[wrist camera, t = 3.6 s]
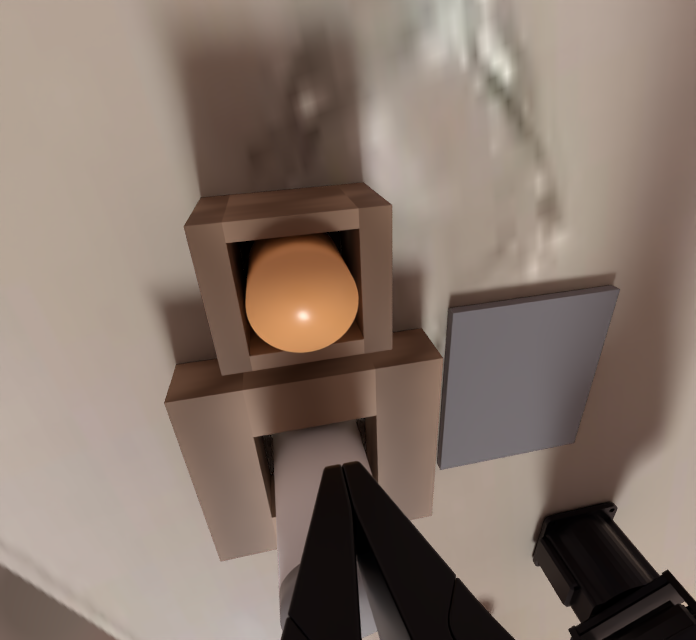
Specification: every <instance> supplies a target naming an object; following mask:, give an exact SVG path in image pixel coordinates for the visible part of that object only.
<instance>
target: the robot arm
mask: <svg viewBox="0 0 696 640" xmlns="http://www.w3.org/2000/svg"><path fill="white" fill-rule="evenodd" d="M616 511H617V506H616V505H615V504H614V503H613V502H609V503H605V504H601V505H596V506H592V507H587V508H583V509H579V510H574V511H570V512H565V513H561V514H557V515H552V516H549V517H547V518H546V519H545V520H544V522H543V526H542V529H541V533H540V536H539V540H538V543H537V547H536V550H535V554H534V557H533V562H534V564H535V565H536V566H540V567H541V568H542V570H543V572H544V573H545V575H546V577H547V578H548V580H549V582H550V583H551V585H552V587H553V588H554V590H555V592H556V593H557V595H558V596H559V598H560V600H561V601H562V603H563V604H564V605H565V606H566V607H569V606H571V608H572V609H573V611H574V613H575V614H576V616H577V617H578V619H579V621H580V622H581V624H579V625H577V626H572V627H571V628H569V629H568V630H569V632H570V634H571V636H572V637H571V639H570V640H696V601H695V600H694V599H693V598H692V596H691V595H690V594H689V593H688V592H687V591H686V590H685V588H684V587H683V586H682V585H681V584H680V583H679V582H678V581H677V579H676V578H675V577H674V576H673V575H672V574H671V573H670V571H669V570H666V571H664V572H663V573H662V575H661V576H660V575H659V574H658V573H657V572H656V571H655V569H654V568H653V567H652V566H651V565H650V563H649V562H648V561H647V560H646V559H645V557H644V556H643V555H642V554H641V553H640V552H639V550H638V549H637V548H636V547H635V546H634V544H633V543H632V542H631V541H630V540H629V539H628V537H627V536H626V535H625V534H624V533H623V531H622V530H621V529H620V528H619V527H618V526H617V524H616V523H615V522H614V521H613V518H614V516H615V513H616ZM356 559H357V560H356ZM357 564H358V567H359V571H360V574H361V578H362V581H363V584H364V588H365V591H366V594H367V598H368V601H369V604H370V608H371V611H372V614H373V618H374V621H375V624H376V628H377V631H378V634H379V638H380V640H515V639H514V638H513V637H512V636H511V635H510V634H509V633H508V632H507V631H506V630H505V629H504V628H503V627H502V626H501V625H500V624H499V623H498V622H497V621H496V620H495V619H494V618H493V617H492V616H491V614H490V613H489V612H488V611H487V610H486V609H485V608H484V607H483V605H482V604H481V603H480V602H479V601H478V600H477V599H476V598H475V597H474V595H473V594H472V593H471V592H470V591H469V590H468V588H467V587H466V586H465V585H464V584H463V583H462V581H461V580H460V579H459V578H456V575H455V573H454V572H453V571H452V570H451V569H450V567H449V566H448V565H447V564H446V563H445V562H444V560H443V559H442V558H441V557H440V556H439V554H438V553H437V552H436V551H435V550H434V549H433V547H432V546H431V545H430V544H429V543H428V541H427V540H426V539H425V538H424V537H423V536H422V534H421V533H420V532H419V531H418V530H417V528H416V527H415V526H414V525H413V524H412V523H411V521H410V520H409V519H408V518H407V517H406V515H405V514H404V513H403V512H402V511H401V510H400V508H399V507H398V506H397V505H396V504H395V502H394V501H393V500H392V499H391V498H390V497H389V495H388V494H387V493H386V492H385V491H384V489H383V488H382V487H381V486H380V485H379V484H378V482H377V481H376V480H375V479H374V478H373V476H372V475H371V474H370V473H369V472H368V471H367V469H366V468H365V467H364V466H363V465H362V464H361V463H360V462H359V461H353V462H347V463H344V464H343V465H342V466H341V465H340V464H336V465H331V466H326V467H325V468H324V470H323V473H322V477H321V481H320V485H319V489H318V493H317V497H316V501H315V505H314V509H313V513H312V517H311V521H310V525H309V530H308V534H307V538H306V542H305V546H304V550H303V554H302V558H301V562H300V566H299V570H298V574H297V578H296V582H295V586H294V590H293V594H292V598H291V602H290V606H289V610H288V614H287V615H288V617H287V618H286V621H285V625H284V629H283V633H282V637H281V640H362V634H361V619H360V604H359V590H358V575H357ZM684 601H685V602H686V603H687V604H688V606H687V607H685V606H684V605H682V604H681V603H683V602H684Z"/></svg>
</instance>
